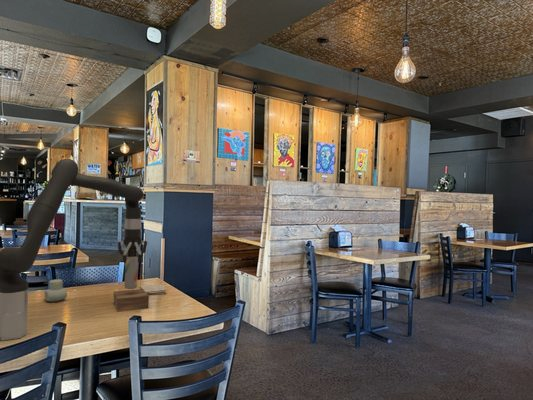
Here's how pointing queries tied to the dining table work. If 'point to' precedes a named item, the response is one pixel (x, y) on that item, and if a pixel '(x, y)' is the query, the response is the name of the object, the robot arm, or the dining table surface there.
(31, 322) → the dining table surface
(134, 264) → the lotion bottle
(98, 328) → the dining table surface
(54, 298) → the air freshener
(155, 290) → the washcloth
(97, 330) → the dining table surface
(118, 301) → the block
